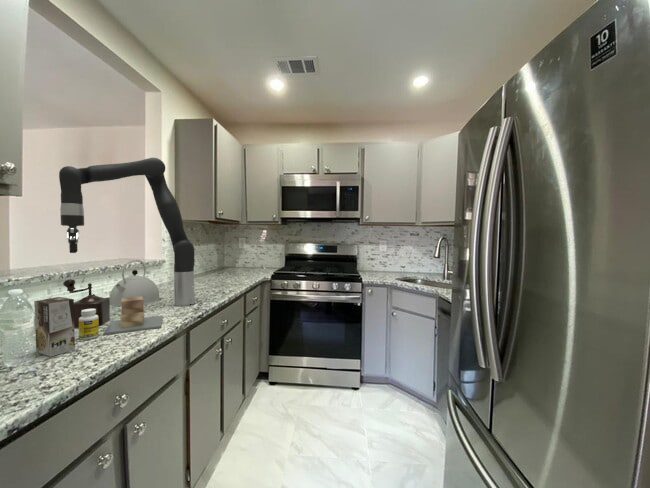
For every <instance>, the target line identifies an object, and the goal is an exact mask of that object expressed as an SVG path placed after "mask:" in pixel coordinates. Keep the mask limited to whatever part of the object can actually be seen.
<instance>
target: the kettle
mask: <svg viewBox="0 0 650 488" xmlns="http://www.w3.org/2000/svg"><path fill="white" fill-rule="evenodd" d="M134 262H138V263H141V265H142V267H143V274H142V275H138V270H137V269H134V270H132V271H131V274H132V275H131V276H127V277H125V269H126V267H127V266H128V265H129V264H131V263H134ZM145 265H146V264H145V263H144V262H143V261H142V260H141V259H140V260H139V259H133V260H130V261H128V262H126V263H125V264H124V265H123V267H122V269H121V278H122V279H121V280H119V281H118V282H117V283H116V284H115V285H114V286H113V288H111V291H110V294H109V298H110V306H111V305H112V306H111V307H119V306H122V298H130V297H140V296H142V297H143V305H148V304H152V303H155V302H158V301H159V300H160V292H159V288H158V285H156V284H157V283H155V282H154V281H153V280H152V279H150V278H148V277H146V271H147V269H146V266H145Z"/></svg>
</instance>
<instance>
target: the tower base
mask: <svg viewBox="0 0 650 488" xmlns="http://www.w3.org/2000/svg"><path fill="white" fill-rule="evenodd" d="M119 318H120V319H119V320H120V323H121V328H123V327H131V326H139V325H143V322H144V318H145V311H144V312H140V313H132V314H125V315H122V312H121V313H120V314H119Z"/></svg>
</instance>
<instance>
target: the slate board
mask: <svg viewBox="0 0 650 488" xmlns="http://www.w3.org/2000/svg"><path fill="white" fill-rule="evenodd" d="M163 317H164V316H163V315H155V316H147V317H145V316H144V322H143V325H139V326H131V327H123V328H121V323H120V319H118V320H112V321H111V322H110V324H109V325H108V326H107V327H106V329H105V330H104V331H103V333H102V336H109V335H118V334H124V333H125V334H126V333H133V332H139V331H148V330H157V329H161V328H162V323H163V320H164V319H163Z"/></svg>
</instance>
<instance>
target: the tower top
mask: <svg viewBox="0 0 650 488" xmlns="http://www.w3.org/2000/svg"><path fill="white" fill-rule="evenodd" d="M144 306H145V305H144V304H143V297H142V296H140V297H130V298H122V307H121V313H122V315H125V314H132V313H140V312H144V313H145V308H144Z"/></svg>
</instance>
